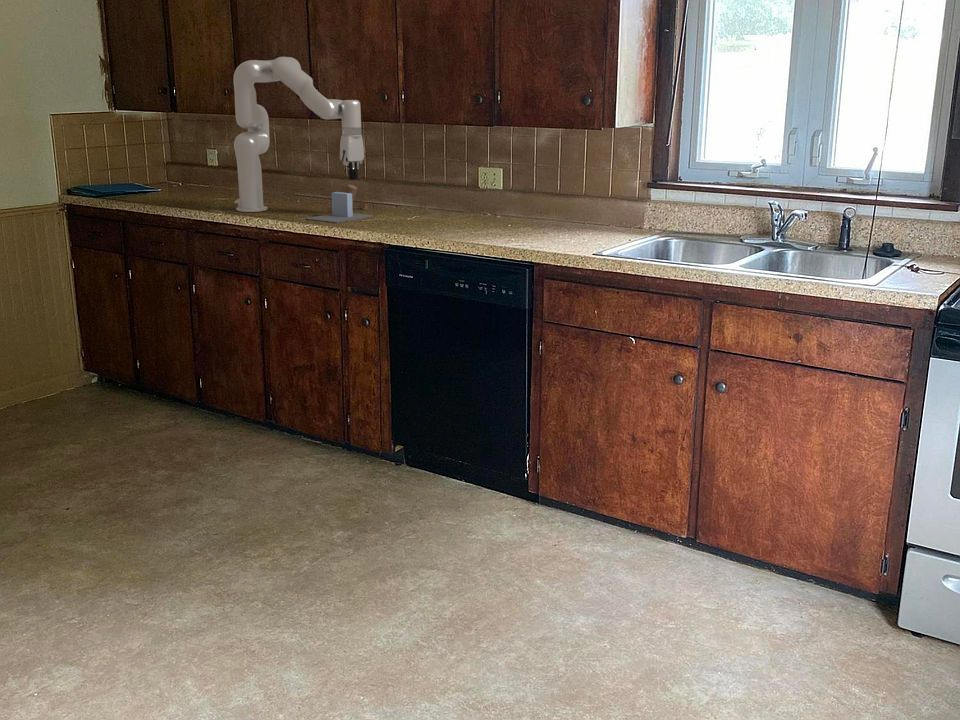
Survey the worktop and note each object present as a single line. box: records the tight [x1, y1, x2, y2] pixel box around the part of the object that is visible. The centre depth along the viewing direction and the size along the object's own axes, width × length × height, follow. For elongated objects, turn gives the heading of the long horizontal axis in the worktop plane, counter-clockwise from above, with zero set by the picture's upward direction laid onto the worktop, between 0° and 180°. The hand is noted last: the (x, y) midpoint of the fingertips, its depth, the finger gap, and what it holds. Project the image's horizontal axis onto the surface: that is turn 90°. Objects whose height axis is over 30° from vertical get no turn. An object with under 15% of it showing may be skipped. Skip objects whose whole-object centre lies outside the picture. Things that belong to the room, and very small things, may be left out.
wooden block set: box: [344, 183, 369, 211], centre depth 394 cm, size 18×9×10 cm, turn 154°
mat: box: [304, 212, 374, 224], centre depth 375 cm, size 16×22×1 cm
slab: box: [331, 191, 354, 217], centre depth 377 cm, size 8×3×9 cm, turn 57°
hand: (353, 179), depth 380 cm, fingers closed
